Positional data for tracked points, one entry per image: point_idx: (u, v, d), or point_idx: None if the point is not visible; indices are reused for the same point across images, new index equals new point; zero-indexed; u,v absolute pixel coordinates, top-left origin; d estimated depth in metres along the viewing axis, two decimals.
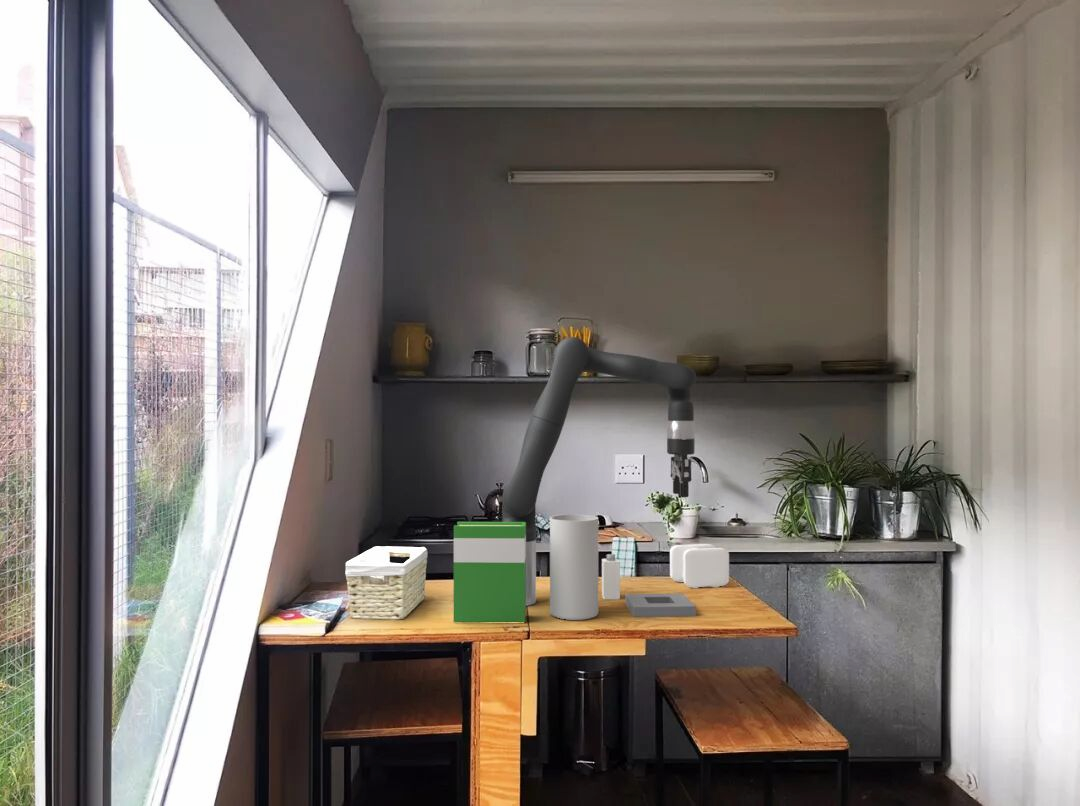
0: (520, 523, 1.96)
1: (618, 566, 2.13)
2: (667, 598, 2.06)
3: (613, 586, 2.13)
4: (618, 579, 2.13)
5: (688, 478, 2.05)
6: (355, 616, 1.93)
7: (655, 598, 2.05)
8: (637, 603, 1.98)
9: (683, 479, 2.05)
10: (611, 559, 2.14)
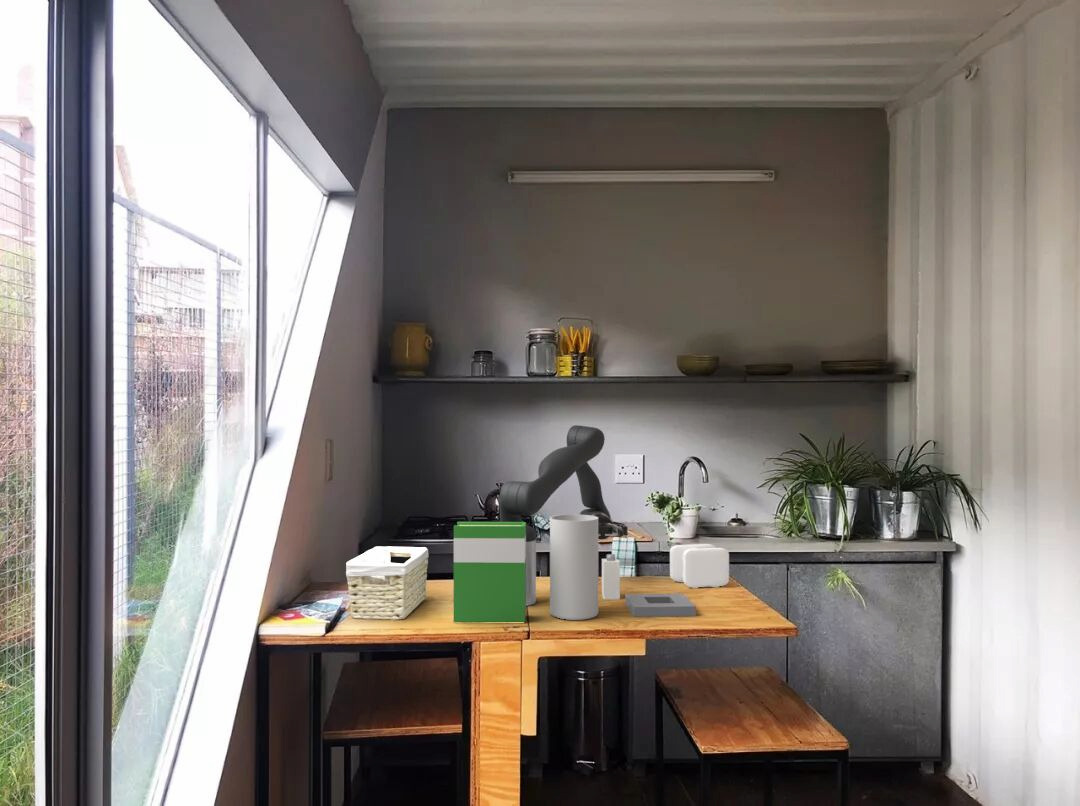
0: (520, 523, 1.96)
1: (618, 566, 2.13)
2: (667, 598, 2.06)
3: (613, 586, 2.13)
4: (618, 579, 2.13)
5: None
6: (356, 616, 1.93)
7: (655, 598, 2.05)
8: (637, 603, 1.98)
9: None
10: (611, 559, 2.14)
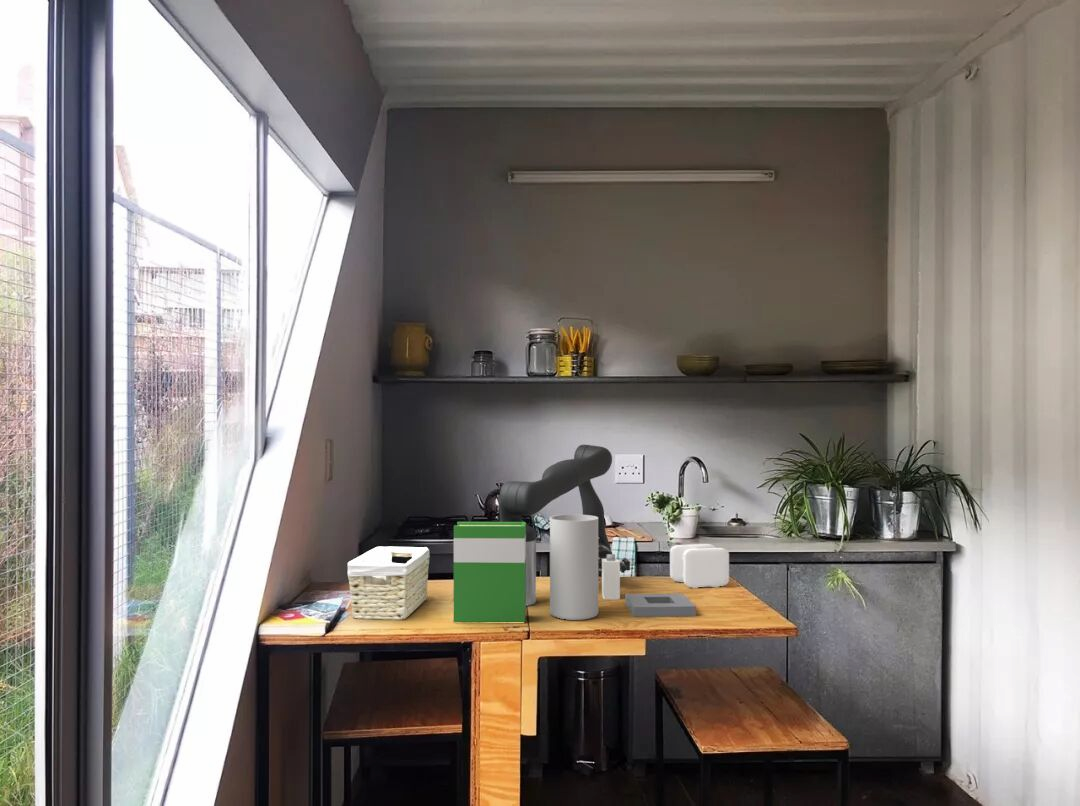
0: (520, 523, 1.96)
1: (618, 566, 2.13)
2: (667, 598, 2.06)
3: (613, 586, 2.13)
4: (618, 579, 2.13)
5: None
6: (357, 616, 1.93)
7: (655, 598, 2.05)
8: (637, 603, 1.98)
9: (629, 562, 2.25)
10: (611, 559, 2.14)
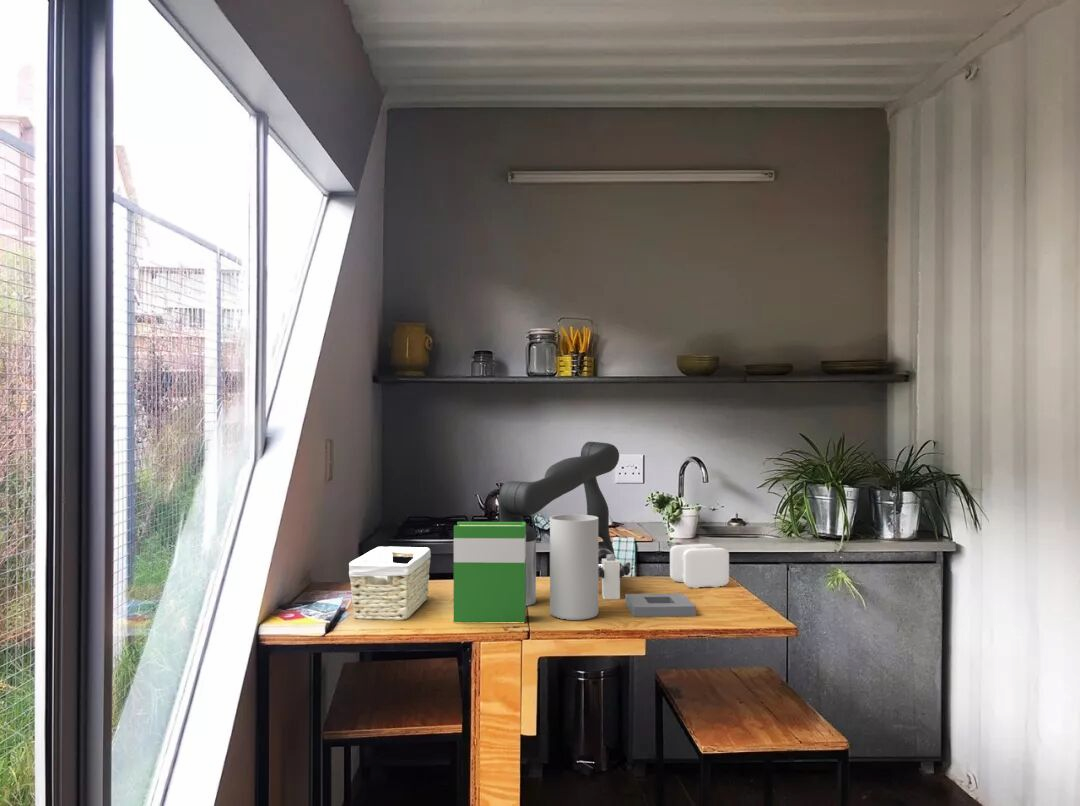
0: (520, 523, 1.96)
1: (618, 566, 2.13)
2: (667, 598, 2.06)
3: (613, 586, 2.13)
4: (618, 579, 2.13)
5: None
6: (358, 616, 1.93)
7: (655, 598, 2.05)
8: (637, 603, 1.98)
9: (628, 567, 2.18)
10: (611, 559, 2.14)
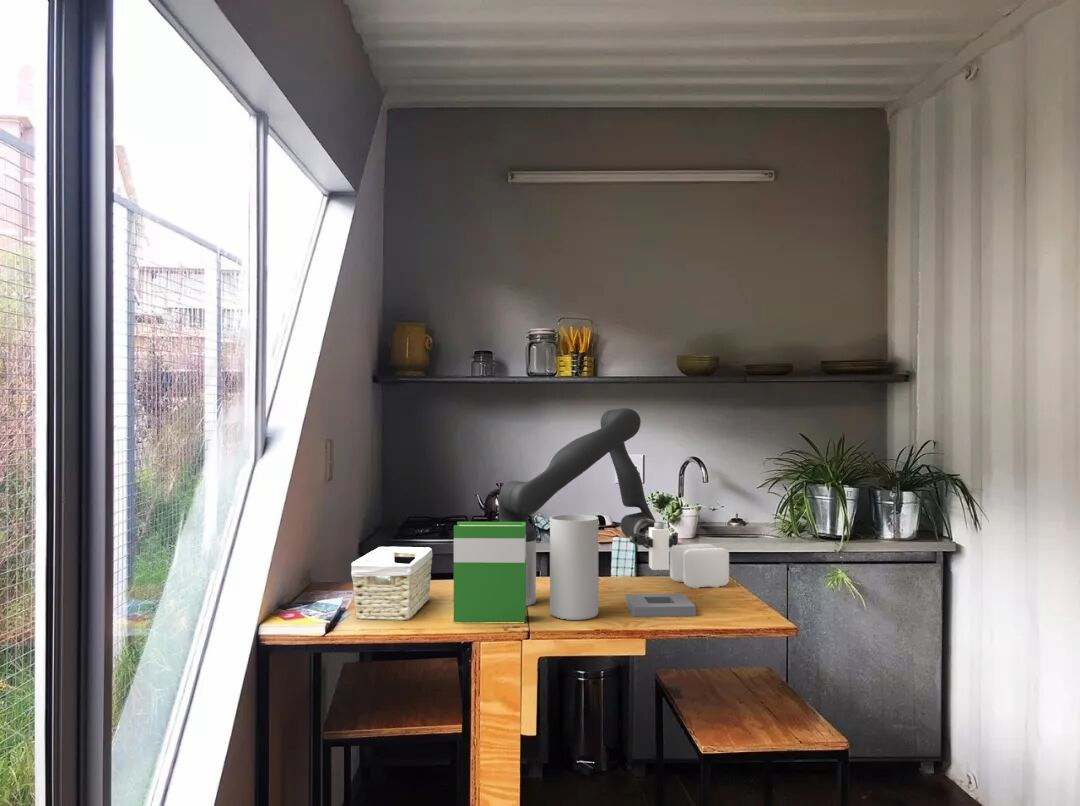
0: (520, 523, 1.96)
1: (667, 535, 2.00)
2: (667, 598, 2.06)
3: (662, 556, 2.00)
4: (667, 548, 2.00)
5: None
6: (361, 617, 1.92)
7: (655, 598, 2.05)
8: (637, 603, 1.98)
9: (676, 536, 2.05)
10: (659, 527, 2.01)
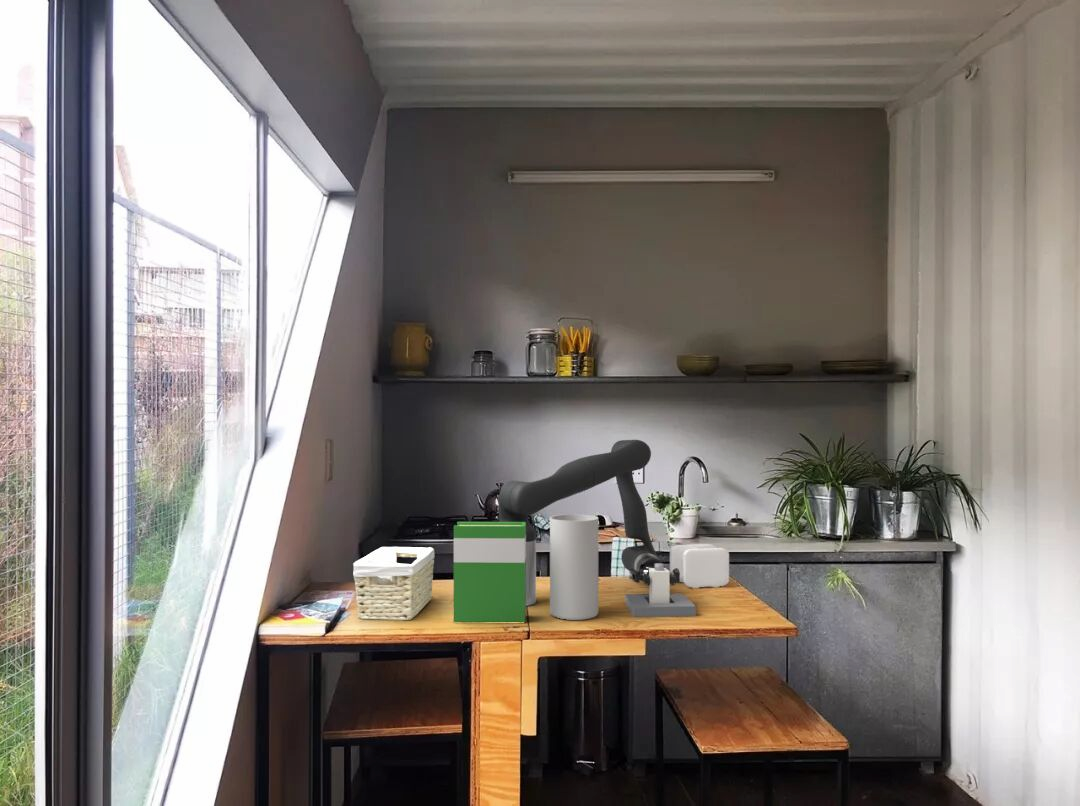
0: (520, 523, 1.96)
1: (667, 576, 2.00)
2: None
3: (662, 597, 2.00)
4: (667, 590, 2.00)
5: None
6: (363, 617, 1.92)
7: None
8: (637, 603, 1.98)
9: (679, 573, 2.05)
10: (660, 569, 2.01)
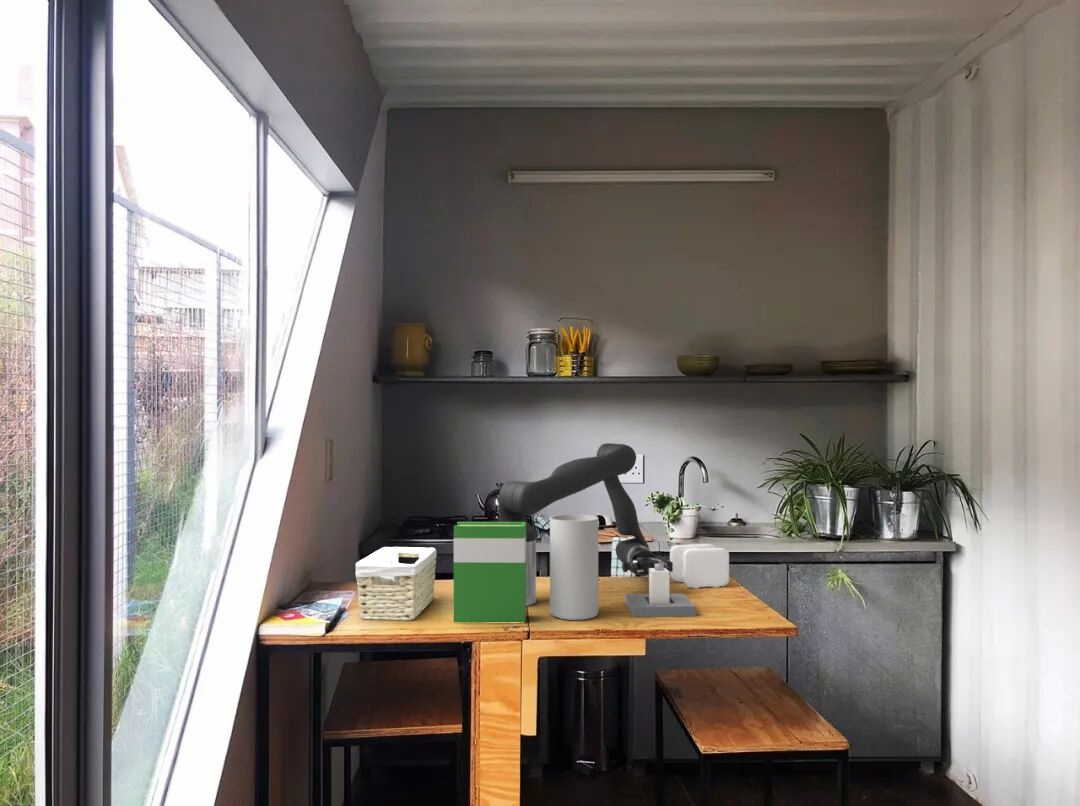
0: (520, 523, 1.96)
1: (667, 576, 2.00)
2: None
3: (662, 597, 2.00)
4: (667, 590, 2.00)
5: None
6: (365, 617, 1.92)
7: None
8: (637, 603, 1.98)
9: (672, 563, 2.18)
10: (660, 569, 2.01)
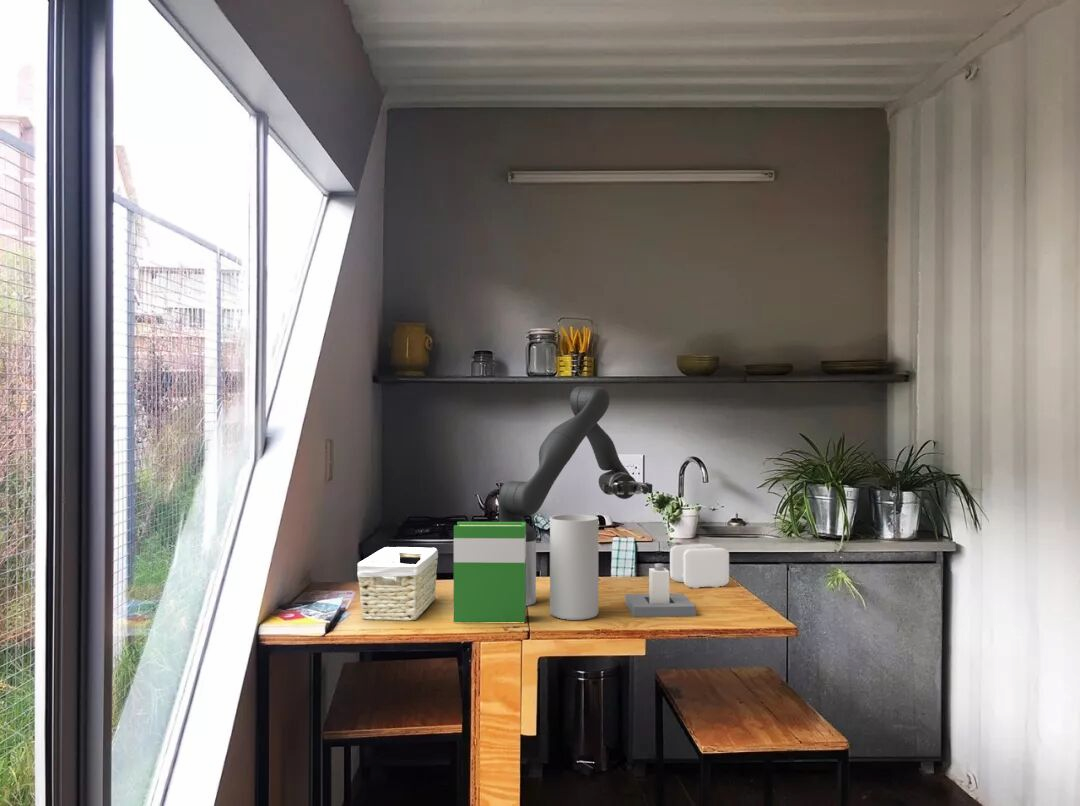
0: (520, 523, 1.96)
1: (667, 576, 2.00)
2: None
3: (662, 597, 2.00)
4: (667, 590, 2.00)
5: None
6: (367, 617, 1.92)
7: None
8: (637, 603, 1.98)
9: None
10: (660, 569, 2.01)
